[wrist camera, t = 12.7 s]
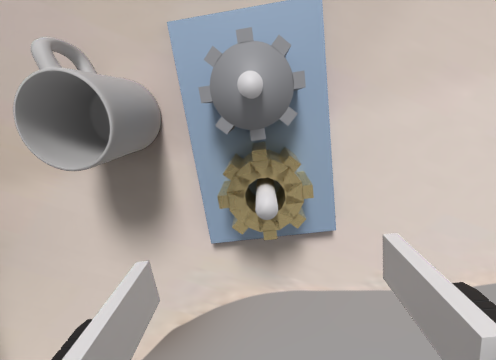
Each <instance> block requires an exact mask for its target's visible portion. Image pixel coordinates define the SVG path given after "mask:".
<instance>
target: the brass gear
mask: <svg viewBox="0 0 496 360" xmlns="http://www.w3.org/2000/svg"><path fill="white" fill-rule="evenodd" d="M300 165H301V163H300V161H299V160H298V158H297V157H296V155H295V154H294V153H293V152H291V151H290V150H289V149H287V148H286V147H284V149H283V150H282V151H281V152H280V154H278V153H276V152H274V151H271V150H266V144H265V142H258V143H253V147H252V152H251V153H250V154H248V155H247V156H246V157H245V158H241V157H240V156H239V155H237V154H235V155H234V156H233V158H232V159H231V160H230V162H229V163H228V165H227V167H226V169H225V171H224V172H223V175H224V176H225V177H227V178H228V179H230V181H224V183H223V185H222V187H221V189H220V192H219V194H218V196H217V197H218V203H219V208H220V209H224V208H229V209H230V212H231V213H232V214H233V215H234V220H233V224H232V228H233V229H235V230H236V231H238V232H239V233H241V234H242V235H243V234H244V232H245V231H246V230H247V229H248V228H251V229H253V230H256V231H258V232H263V235H264V240H272V239H277V231H276V230H280V229H282V228H283V227H285V226H286V225H288V224H289V223H290V224H292V225H293V226H294V227H296V228H297V229H298V228H299V227H300V226H301V225H302V223H303V222H304V221H305V220H306V217H305V214H304V212H303V209H302V205H303V203H304V199H308V198H314V195H313V184H312V183H311V181H310V180H309V178H308V177H307V175H306V173H305V172H304V171H301V172H296V170H297V169H298V168H299V166H300ZM267 177H268V178H271V179H273V180H276V181H278V182H279V183H280V185H281V186H280V188H279V190H278V192H277V193H276V198H277V204H278V213H277V215H276V216H275V217H274V218H272V219H270V220H264V219H261V218H260V217H259V216H258V215H257V214H256V210H255V208H256V195H254V194H253V193H252V191H251V190H250V189H249V187H248V186H249V184H251V183H252V182H254V181H255V180H256V179H259V178H267Z"/></svg>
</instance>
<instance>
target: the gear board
mask: <svg viewBox="0 0 496 360" xmlns="http://www.w3.org/2000/svg"><path fill="white" fill-rule="evenodd" d="M167 25H168V30H169V35H170V40H171V45H172V50H173V55H174V60H175V65H176V70H177V75H178V80H179V85H180V90H181V95H182V100H183V105H184V110H185V115H186V119H187V124H188V129H189V134H190V139H191V144H192V149H193V154H194V159H195V164H196V169H197V174H198V179H199V184H200V189H201V194H202V199H203V204H204V209H205V214H206V219H207V224H208V229H209V234H210V239H211V243H221V242H230V241H239V240H249V239H258V238H264V235H263V232H258V231H256V230H253V229H251V228H248V229H247V230H246V231H245V232H244V234H243V235H242V234H241V233H239V232H238V231H236V230H235V229H233V228H232V224H233V220H234V215H233V214H232V213H231V212H230V209H229V208H224V209H220V208H219V203H218V197H217V196H218V194H219V192H220V189H221V187H222V185H223V183H224V181H230V179H228V178H227V177H225V176H224V175H223V172H224V171H225V169H226V167H227V165H228V163H229V162H230V160H231V159H232V158H233V156H234V155H235V154H237V155H239V156H240V157H241V158H245V157H246V156H247V155H248V154H250V153H251V152H252V147H253V143H258V142H265V144H266V150H271V151H274V152H276V153H278V154H280V152H281V151H282V150H283V149H284V147H286V148H287V149H289V150H290V151H291V152H293V153H294V154H295V155H296V157H297V158H298V160H299V161H300V163H301V165H300V166H299V168H298V169H297V170H296V172H301V171H304V172H305V173H306V175H307V177H308V178H309V180H310V181H311V183H312V184H313V195H314V198H308V199H304V203H303V205H302V209H303V212H304V214H305V217H306V220H305V221H304V222H303V223H302V225H301V226H300V227H299V228H298V229H297V228H296V227H294V226H293V225H292V224H290V223H289V224H288V225H286V226H285V227H283V228H282V229H280V230H276V231H277V236H286V235H295V234H305V233H314V232H323V231H332V230H336V221H335V205H334V188H333V172H332V156H331V139H330V123H329V106H328V90H327V73H326V57H325V40H324V24H323V7H322V0H287V1H281V2H276V3H270V4H265V5H259V6H254V7H248V8H243V9H237V10H231V11H226V12H220V13H215V14H209V15H204V16H198V17H193V18H187V19H181V20H176V21H170V22H167ZM280 186H281V185H280V183H279V182H278V181H276V180H273V179H271V178H268V177H267V178H259V179H256V180H255V181H254V182H252V183H251V184H249V186H248V187H249V189H250V190H251V191H252V193H253V194H254V195H256V208H255V210H256V214H257V215H258V216H259V217H260V218H261V219H264V220H270V219H272V218H274V217H275V216H276V215H277V213H278V204H277V198H276V193H277V192H278V190H279V188H280Z"/></svg>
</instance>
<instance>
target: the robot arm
mask: <svg viewBox="0 0 496 360" xmlns="http://www.w3.org/2000/svg"><path fill="white" fill-rule="evenodd" d="M383 279H384V280H385V281H386V283H387V284H388V286H389V287H390V288H391V290H392V291H393V292H394V294H395V295H396V297H397V298H398V299H399V301H400V302H401V304H402V305H403V306H404V308H405V309H406V310H407V312H408V313H409V315H410V316H411V317H412V319H413V320H414V321H415V323H416V324H417V326H418V327H419V328H420V330H421V331H422V332H423V334H424V335H425V337H426V338H427V339H428V341H429V342H430V344H431V345H432V346H433V348H434V349H435V350H436V352H437V353H438V355H439V356H440V357H441V359H442V360H496V305H495V304H494V303H492V302H491V301H489V299H487V298H486V297H485V296H484V295H482V293H480V292H479V291H478V290H477V289H475V288H473V287H471V286H469V285H467V284H465V283H463V282H459V283H451V282H450V281H449V280H448V279H447V278H446V277H445V276H444V275H442V274H441V273H440V272H439V271H438V270H437V269H436V268H435V267H434V266H433V265H432V264H430V263H429V262H428V261H427V260H426V259H425V258H424V257H423V256H422V255H421V254H420V253H419V252H417V251H416V250H415V249H414V248H413V247H412V246H411V245H410V244H409V243H408V242H407V241H405V240H404V239H403V238H402V237H401V236H400V235H399V234H398V233H392V234H383ZM159 302H160V298H159V294H158V291H157V287H156V284H155V280H154V276H153V273H152V269H151V266H150V262H149V261H141V262H136V263H135V264H134V266H133V267H132V268H131V270H130V271H129V272H128V274H127V275H126V276H125V278H124V279H123V280H122V282H121V283H120V284H119V285H118V287H117V288H116V289H115V291H114V292H113V293H112V295H111V296H110V297H109V299H108V300H107V301H106V303H105V304H104V305H103V306H102V308H101V309H100V310H99V312H98V313H97V314H96V316H95V317H94V318H93V319H88V320H86V321H85V322H84V323H83V324H82V325H80V326H79V327H78V328H77V329H76V330H75V331H74V332H73V334H72V335H71V336H70V337H69V339H68V341H66V342H65V344H64V345H63V346H62V347H61V350H59V351H58V352H57V353H56V355H55V356H54V357H53V358H52V360H131V359H132V357H133V355H134V353H135V351H136V349H137V347H138V345H139V343H140V340H141V338H142V336H143V334H144V332H145V330H146V328H147V326H148V324H149V322H150V320H151V318H152V316H153V314H154V312H155V310H156V308H157V306H158V304H159Z"/></svg>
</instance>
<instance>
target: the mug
mask: <svg viewBox="0 0 496 360" xmlns="http://www.w3.org/2000/svg"><path fill="white" fill-rule="evenodd" d="M52 51H54V52H57V53H60V54H62V55H64V56H66V57H67V58H68V59H70V60H71V61H72V62H73V64H74V65H75V66H76V68H77V69H78V70H74V69H68V68H62V67H61V65H60V64H59V63H58V61H57V60H56V58H55V56H54V54H53V52H52ZM31 52H32V55H33V58H34V60H35V62H36V64H37V66H38V68H39V69H40V70H38V71H36V72H34V73H32V74H31V75H29V76H28V77H27V78H26V79H25V80H24V81H23V82H22V83H21V85H20V86H19V88H18V90H17V93H16V95H15V99H14V106H13V112H14V120H15V124H16V128H17V130H18V133H19V135H20V137H21V139H22V140H23V142H24V143H25V145H26V146H27V147H28V149H29V150H30V151H31V152H32V153H33V154H34V155H35V156H36V157H38V158H39V159H40V160H42V161H43V162H45V163H46V164H48V165H50V166H52V167H55V168H58V169H61V170H66V171H81V170H86V169H90V168H92V167H95V166H98V165H100V164H103V163H106V162H108V161H111V160H114V159H116V158H119V157H122V156H124V155H127V154H130V153H133V152H136V151H139V150H142V149H144V148H145V147H147V146H148V145H150V144H151V143H152V142H153V141H154V139H155V138H156V136H157V135H158V132H159V130H160V126H161V113H160V109H159V106H158V103H157V101H156V100H155V98H154V96H153V95H152V94H151V93H150V92H149V90H147V89H146V88H145V87H144V86H142V85H141V84H139V83H137V82H135V81H133V80H130V79H125V78H119V77H112V76H106V75H101V74H97V72H96V71H95V69H94V67H93V66H92V64H91V62H90V61H89V59H88V58H87V57H86V55H85V54H84V53H83V52H82V51H81V50H80V49H78V48H77V47H75V46H74V45H72V44H70V43H68V42H66V41H63V40H61V39H57V38H53V37H41V38H38V39H36V40H34V41H33V42H32V44H31Z"/></svg>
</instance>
